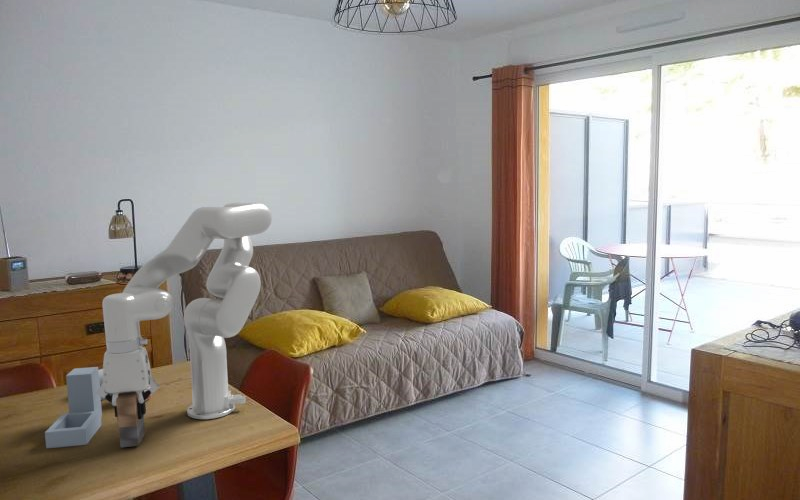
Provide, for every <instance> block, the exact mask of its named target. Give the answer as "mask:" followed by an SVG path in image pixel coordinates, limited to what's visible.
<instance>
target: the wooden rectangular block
mask: <svg viewBox="0 0 800 500" xmlns="http://www.w3.org/2000/svg"><path fill="white" fill-rule="evenodd" d="M137 404H138V397H137V394H136V392H127V393H120V394H119V396H118V397H117V399H116V405H117V415H118V420H117V424H118V434H119V444H120V448H128V447H138V446H140V444H141V442H142V440H143V438H144V436H145V434H146V430H145V429H146V428H145V418H144V416H145V415H144V416H143V417H142V419H138V410H137Z"/></svg>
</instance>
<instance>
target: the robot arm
mask: <svg viewBox="0 0 800 500" xmlns="http://www.w3.org/2000/svg"><path fill="white" fill-rule="evenodd" d="M272 218H273V216H272V213H271V210H270V208H268V206H266V205H265V204H263V203H260V202H230V203H227V204H224V205H223V206H201V207H198V208H196V209H195V210H194V211H193V212H191V214H190V215H189V217H188V218H187V220H186V221H185V222H184V223H183V225H182V226H181V228H180V229H179V230H178V232H177V233H176V235H175V236H174V237H173V239H172V240H171V242H169V244H168V246H166V248H165V249H164V250H162V251H160V252H159V253H158V254H156V255H155V256H153V258H151V259H150V260H149V261H147V262H146V263H144V264H143V265H142V266H140V268H139V269H138V270H137V271H136V272H135V273H134V274H133V276H132V277H131V278H130V280H129V282H127V284H126V286H125V287H124V289H123V291H122V292H119V293H112V294H109V295H107V296H105V297H104V298H103V299H102V306H101V307H102V315H103V323H104V324H103V325H104V333H105V344H106V351H105V352H104V354H103V363H102V369H103V383H102V385H101V387H100V388H99V390H98V392H97V395H99V396H101V397H103V398H105V400H107V401H108V402H109V403H110V404H111V405H112V406H113V410H114V417H115V418H117V421H118V415H117V405H116V399H117V397H118V396H119V394H120V393H127V392H136V394H137V397H138V404H137V410H138V419H142V417H143V416H145V415H146V414H147V413H146V412H147V407H146V401H147V400H146V399H147V398H148V397H149V396H150V394H151V395H152V394H154V392H156V391H157V390H158V389H159V387H160V385H159V384H158V382H157V381H156V380H155V379H154V377H153V376H152V369H151V363H150V360H149V356H148V352H147V349H146V347H145V346H144V345H148V338H143V337H142V335H141V327H140V322H143V321H150V320H151V321H153V320H159V319H160V320H161V319H162V318H165V317H166V316H168V315H169V314H170V313H171V312H172V310H173V308H174V298H173V296H172V295H171V294H170V293H169V291H166V290H164V289H163V288H162V289H161V288H159V287H161V285H162V284H164V283H165V282H166V281H168V280H169V279H170V278H173V277H175V276H177V275H180V274H183V273H185V272H187V271H189V270H192V269H194V268H195V267H196V266H197V265H198V263H199V262H200V260H201V259H202V258H203V257H204V255H205V253H206V251H207V250H208V248H209V247H210V246H211V244H212V243H213V241H214V240H215V239H219V240H220V239H221V240H223V247H222V249H221V250H220V253H219V255H218V257H217V259H216V260H215V263H214V265H213V267H212V269H211V270H210V272H209V274H208V277H207V279H206V282H205V283H206V290H207V291H208V292H209V294H210V295H212V296H215V297H217V298H223V299H222V300H221V299H217V298H209V297H199V298H196V299H193V300H192V301H190V303H188V304H187V306H186V307H185V310H184V312H183V313H184V314H183V323H184V327H185V331H186V334H187V340H188V346H189V347H188V348H189V362H190V378H191V379H190V381H191V395H192V397H191V398H192V404H191V405H189V406H188V408H187V410H186V412H187V413H186V414H187V416H188V417H190V418H192V419H196V420H211V419H217V418H222V417H225V416H228V415H229V414H231V413H232V412H234V410H235V409H236V404H239V405H240V404H246V396H245V395H242V394H241V393H240V394H233V393H232V394H231V389H230V390H229V381H228V380H229V379H228V360H227V359H228V358H227V346H226V341H225V338H226V339H227V338H232V337H235V336H237V335H238V334H239V333H240V332H241V331H242V329H243V328H244V327H245V326H244V325H245V323H246V322H247V319H248V317H249V316H250V314H251V311H253V307H254V305H255V303H256V301H257V299H258V296H259V294H260V291H261V285H262V283H261V282H262V281H261V276H260V274H259V272H258V271H257V270H256V269H255V268H253V267H251V266H249V265H250V263H251V260H252V258H253V255H254V246H253V243H252V242H253V241H252V239H251V236H254V235H261V234H263V233H265V232H266V231H267V230H268V229H269V228H270V226H271V225H272ZM148 385H150V386H151V388H149V389H148V390H147V391H146V392H145V390H146V389H147V388H148ZM145 400H146V401H145Z"/></svg>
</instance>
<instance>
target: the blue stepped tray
mask: <svg viewBox="0 0 800 500" xmlns="http://www.w3.org/2000/svg"><path fill="white" fill-rule="evenodd" d="M98 370H99V367H98V366H93V367H92V366H91V367H79V368H78V367H77V368H73V369H72V370H71V371H70V372H68V373H67V374H66V375H65V379H66V380H65V381H66V390H67V403H68V413H67V412H63V413H62V414H61V415H60V416H59V417H58V418H57V419H55V421H54V422H53V423H52V425H50V426H49V428H47V430H45V432H44V436H45V437H44V438H45V446H46V447H45V448H46V449H53V448H56V449H57V448H64V447H65V448H66V447H74V446H76V447H77V446H84V445H85V446H86V445H88V444H89V443H90V441H91V439H92V438H93V437H94V435H95V434H96V433H97V432H98V430H99V429H100V427H101V426H102V417H103V412H102V411H103V410H102V400H101V396H99V395H97V392H98V390H99V388H100V384H99V371H98Z"/></svg>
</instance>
